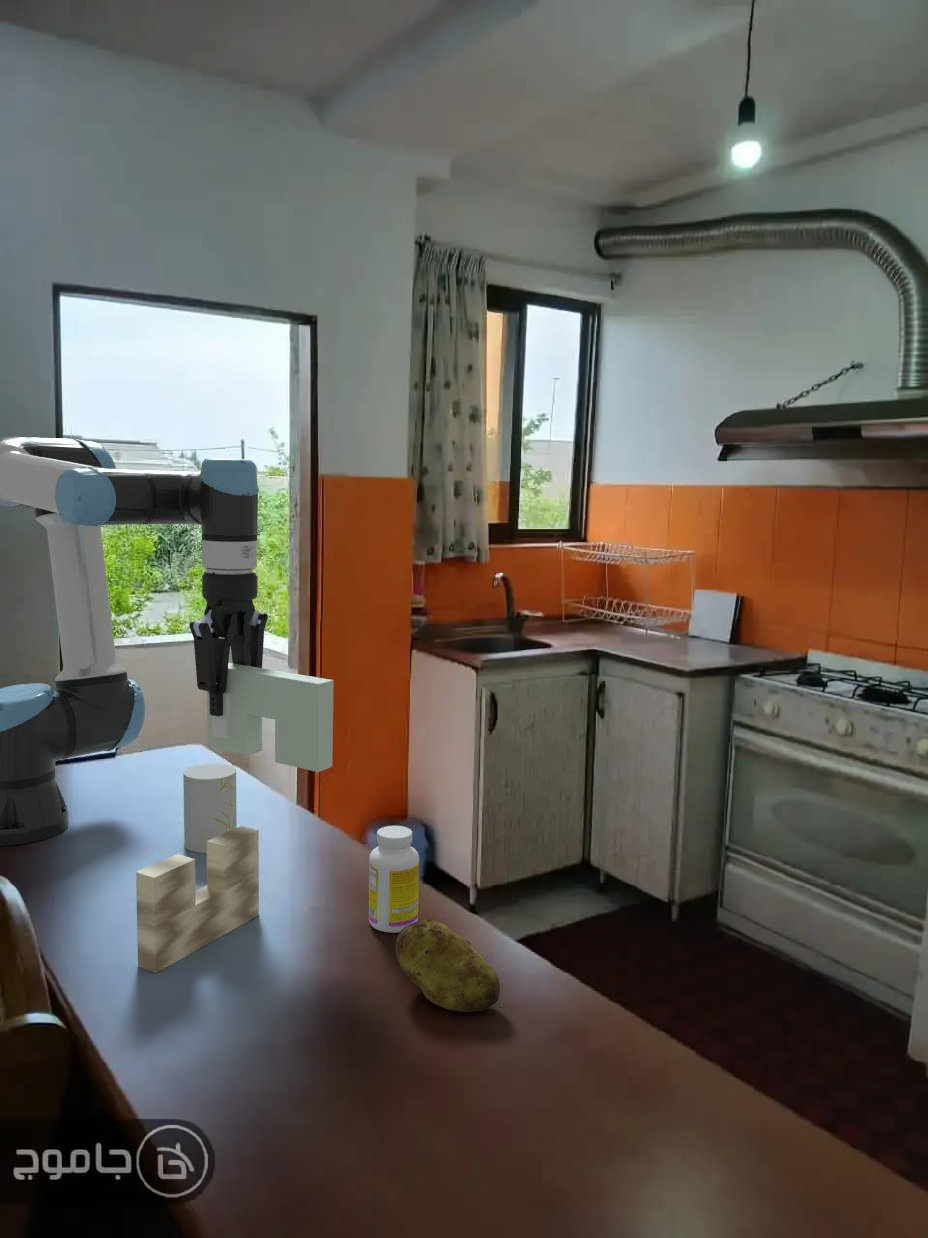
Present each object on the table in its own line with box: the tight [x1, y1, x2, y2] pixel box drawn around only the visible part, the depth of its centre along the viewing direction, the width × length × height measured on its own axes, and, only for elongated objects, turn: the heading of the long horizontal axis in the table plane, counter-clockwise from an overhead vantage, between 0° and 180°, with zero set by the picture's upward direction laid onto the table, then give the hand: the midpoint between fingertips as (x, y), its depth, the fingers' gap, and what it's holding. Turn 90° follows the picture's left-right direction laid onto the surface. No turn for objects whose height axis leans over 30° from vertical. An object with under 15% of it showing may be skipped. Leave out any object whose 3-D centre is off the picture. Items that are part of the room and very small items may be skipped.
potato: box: [395, 918, 501, 1013], centre depth 107 cm, size 8×13×8 cm, turn 38°
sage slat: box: [206, 662, 334, 773], centre depth 130 cm, size 20×3×12 cm, turn 61°
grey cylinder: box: [182, 763, 238, 854], centre depth 150 cm, size 8×8×12 cm
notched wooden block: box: [135, 825, 260, 974], centre depth 119 cm, size 18×3×12 cm, turn 151°
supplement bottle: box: [368, 825, 420, 934], centre depth 125 cm, size 7×7×13 cm
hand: (230, 733), depth 134 cm, fingers closed on sage slat, 3 cm apart
